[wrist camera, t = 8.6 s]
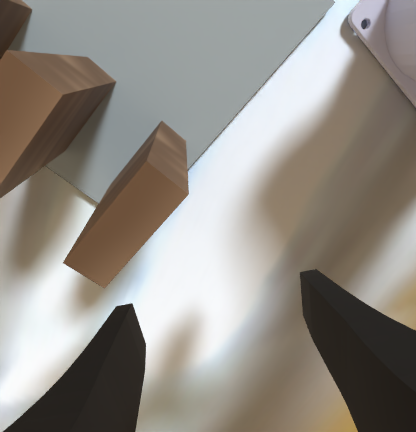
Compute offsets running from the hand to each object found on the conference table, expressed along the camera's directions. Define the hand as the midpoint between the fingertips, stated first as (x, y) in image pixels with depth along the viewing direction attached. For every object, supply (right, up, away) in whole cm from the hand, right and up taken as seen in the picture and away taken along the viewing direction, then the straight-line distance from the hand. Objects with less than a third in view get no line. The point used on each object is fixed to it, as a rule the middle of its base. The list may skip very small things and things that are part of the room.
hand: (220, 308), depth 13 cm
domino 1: (-8, +10, +6) cm, 14 cm away
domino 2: (-4, +7, +7) cm, 11 cm away
